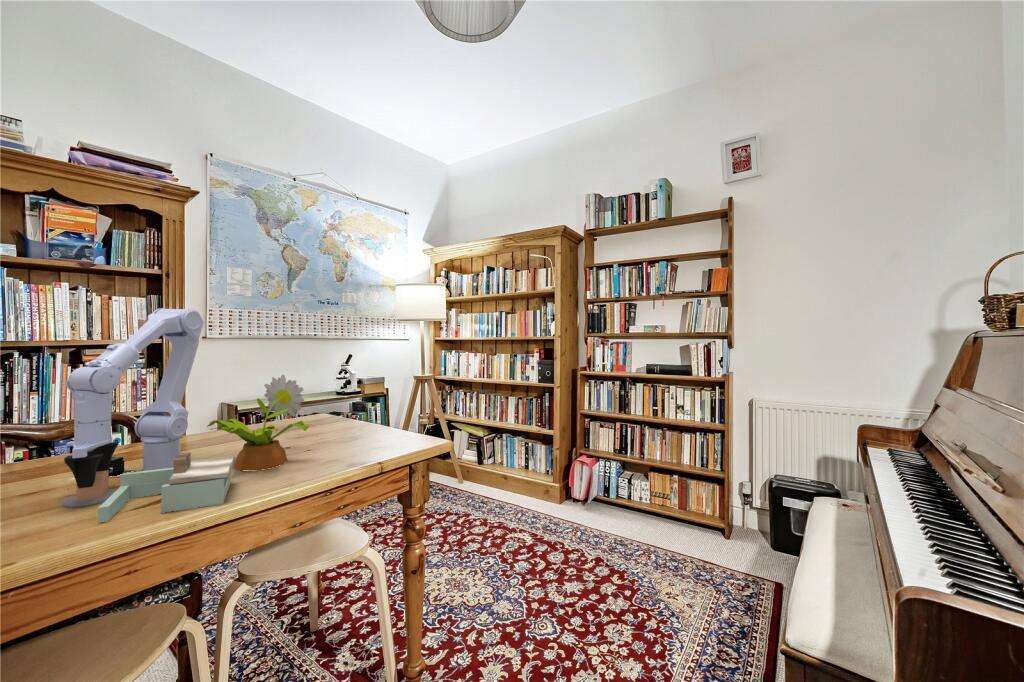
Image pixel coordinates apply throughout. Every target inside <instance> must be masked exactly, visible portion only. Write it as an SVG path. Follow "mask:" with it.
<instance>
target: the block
mask: <svg viewBox="0 0 1024 682" xmlns="http://www.w3.org/2000/svg"><path fill="white" fill-rule="evenodd" d="M109 478H110V477H109V470H106V471H97V472H96V476H95V481H94V484H93V486H92V487H87V488H78V486H77V485H76V495H77V501H84V500H92V499H99V498H103V497H104V496H105V495H106V494H107V493H108V489H109V480H110V479H109Z"/></svg>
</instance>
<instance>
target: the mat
mask: <svg viewBox="0 0 1024 682" xmlns="http://www.w3.org/2000/svg"><path fill="white" fill-rule="evenodd" d="M117 489H118V488H108V493H107V494H106V495H105V496H104V497H103V498H99V499H92V500H84V501H77V494H74V495H72V496H69V497H68V498H65V499H63V500H62V506H63V507H64V506H65V508H81V507H89V506H95V505H99V504H103V503H104V502H105V501H106V500H107V499H108V498H109V497H110V496H111V495H112V494H113V493H114V492H115V491H116V490H117ZM102 502H103V503H102ZM98 503H99V504H98ZM94 504H95V505H94Z"/></svg>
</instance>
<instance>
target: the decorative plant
mask: <svg viewBox="0 0 1024 682" xmlns="http://www.w3.org/2000/svg"><path fill="white" fill-rule="evenodd" d="M263 386H264V388H265V389H266V390H265V393H264V397H265V398H267V401H268V404H267V406H266V405H265V403H264V402H263V401H262V400H261V399H260V398H257V399H256V402H257V403H258V406H259V408H260V409H261V411H262V412H264V413H265V415H266V416H265V418H264V422H263V426H262V427H258V428H257V429H254V430H253V429H252V430H250V429H249V428H248V426H247V425H246V424H245V423H244V422H242V421H239V420H238V419H237V418H235V417H234V418H229V419H226V420H225V419H221V420H220V419H218V420H217V419H216V420H215V419H214V420H212V421H210V422H209V423H208V425H207V426H206V428H208V427H211V426H214V425H215V424H219V426H217V427H216V428H214V427H211V428H209V429H210V431H211V430H214V429H215V430H218V429H219V431H222V430H223V431H225V432H227V433H228V434H229V433H230V434H234V435H236V436H238V437H240V438H241V439H242V440H243V441H244V442H245V443H244V444H243V446H242V449H241V450H240V451H239V452H238V454H237V455H236V457H235V460H234V464H233V469H234V468H235V469H238V470H260V471H263V470H262V469H266V470H269V469H268V468H271V469H273V468H272V467H275V468H277V467H276V466H278V467H280V466H279V465H281V466H283V465H285V464H286V463H287V462H288V457H287V453H286V450H285V449H284V447H283V446H282V445H281V444H280V440H279V439H276V438H277V437H278V436H280V435H281V434H283V433H284V432H287V430H289V429H291V428H292V427H297V428H300V429H301V430H303V431H305V432H306V431H307V430H308V429H309V427H310V426H311V425H310V424H305V423H304V421H303V420H300V421H297V422H294V423H290V424H288V425H287V426H285V428H282V429H281V430H280V431H279V432H278V430H279V429H278V428H276V426H275V425H273V424H270V425H269V426H266V424H267V421H268V419H271V418H274V417H277V416H279V415H283V416H284V418H286V419H287V418H288V416H289V415H290V416H291V417H293V418H295V417H296V413H299V411H301V409H302V407H301V406H300V405H302V403H303V402H305V399H304V398H303V394H301V393H302V392H303V391H304V387H302V386H301V387H300V385H299V384H297V380H295V379H294V380H292V379H289V380H287V379H286V375H285V374H282V375H280V377H278V378H277V379H276V377H274V376H273V377H271V382H270V384H269V383H265V384H264V385H263ZM267 407H268V408H269V409H268V408H267ZM271 410H274V412H273V413H271V414H270V415H269V413H270V412H271ZM273 431H276V432H278V433H276V434H274V435H273ZM272 435H273V436H272ZM286 461H287V462H286ZM285 462H286V463H285ZM284 463H285V464H284ZM282 464H283V465H282ZM235 469H234V470H235ZM238 470H237V471H238Z"/></svg>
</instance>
